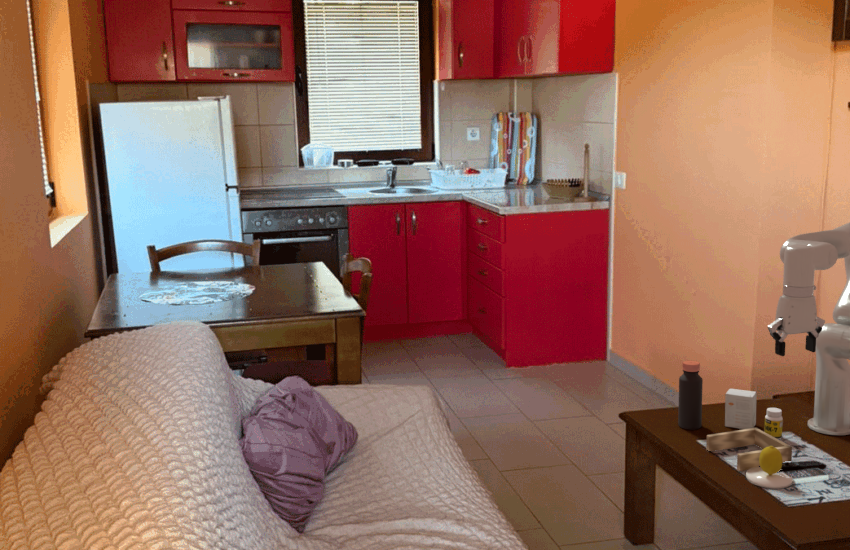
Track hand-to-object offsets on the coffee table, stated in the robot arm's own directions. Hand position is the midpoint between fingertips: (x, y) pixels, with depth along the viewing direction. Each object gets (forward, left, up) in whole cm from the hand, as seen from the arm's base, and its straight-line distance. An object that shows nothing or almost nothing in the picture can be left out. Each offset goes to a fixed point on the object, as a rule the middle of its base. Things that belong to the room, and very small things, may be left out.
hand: (795, 352), depth 221 cm
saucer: (+17, +13, -28) cm, 35 cm away
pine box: (+13, -1, -28) cm, 31 cm away
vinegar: (+15, -26, -28) cm, 41 cm away
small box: (+1, -21, -29) cm, 35 cm away
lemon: (+17, +13, -28) cm, 35 cm away
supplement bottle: (-2, -10, -28) cm, 30 cm away
